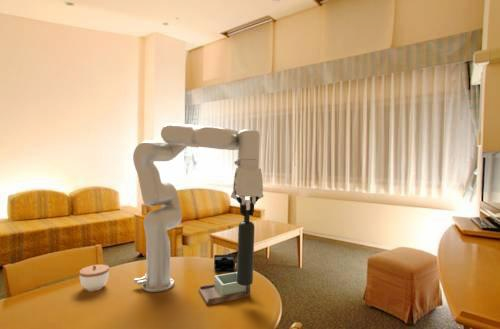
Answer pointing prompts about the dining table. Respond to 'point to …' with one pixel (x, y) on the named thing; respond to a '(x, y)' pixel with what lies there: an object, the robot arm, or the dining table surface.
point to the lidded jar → (94, 276)
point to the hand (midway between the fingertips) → (246, 214)
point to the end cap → (224, 263)
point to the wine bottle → (245, 249)
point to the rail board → (214, 297)
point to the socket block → (228, 284)
